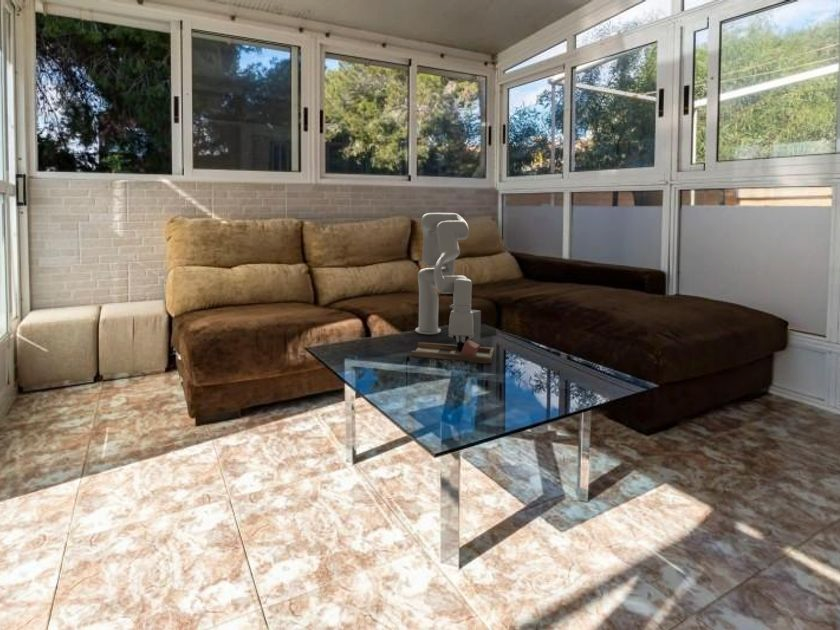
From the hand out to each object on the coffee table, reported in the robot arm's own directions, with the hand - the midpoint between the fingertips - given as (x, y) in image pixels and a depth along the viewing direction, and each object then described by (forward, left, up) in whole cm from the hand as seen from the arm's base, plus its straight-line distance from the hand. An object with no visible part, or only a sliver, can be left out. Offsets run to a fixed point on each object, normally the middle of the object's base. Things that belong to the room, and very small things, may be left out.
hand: (460, 350), depth 235 cm
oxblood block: (+1, +3, -1) cm, 4 cm away
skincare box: (-19, +2, -3) cm, 20 cm away
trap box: (0, -4, -2) cm, 5 cm away
